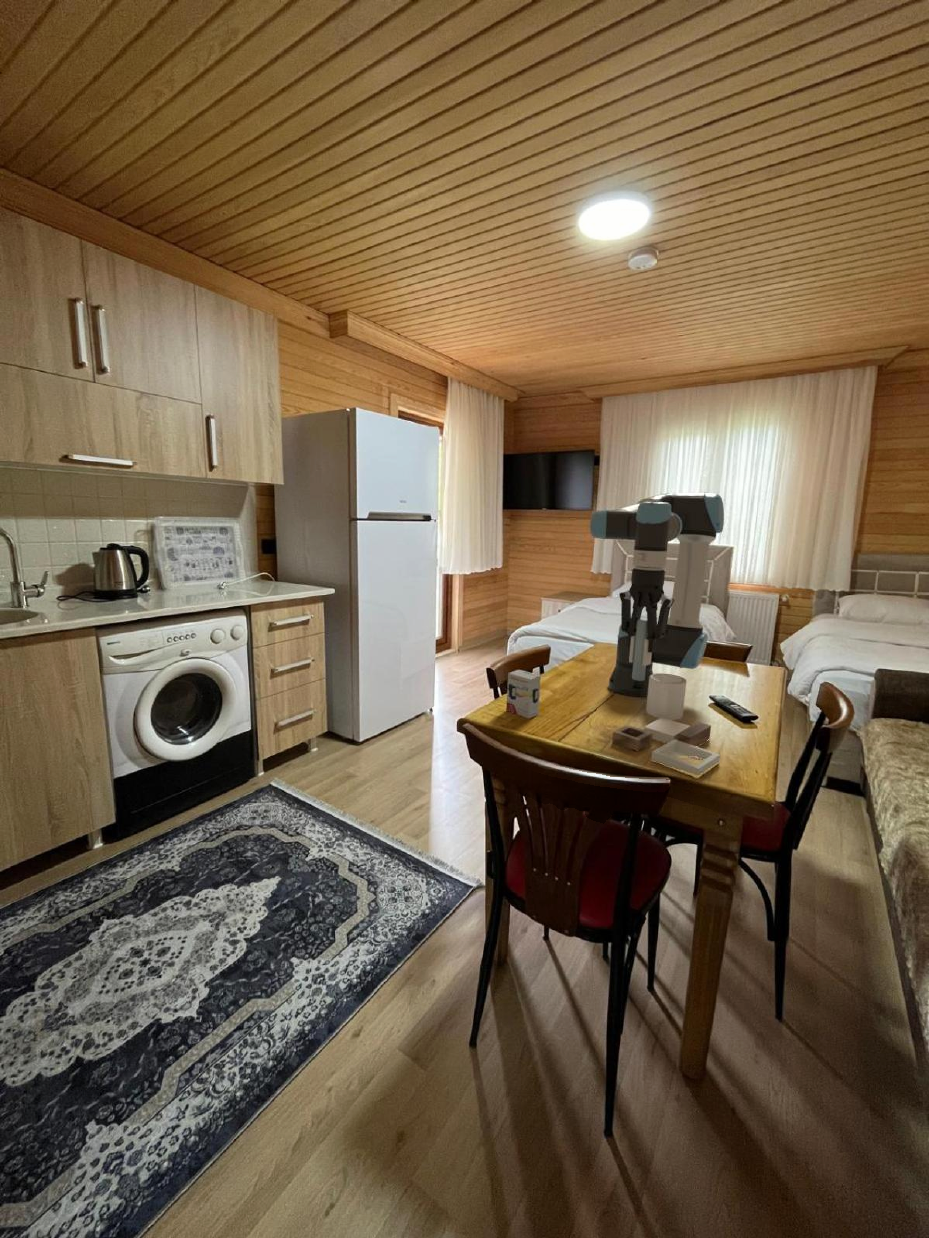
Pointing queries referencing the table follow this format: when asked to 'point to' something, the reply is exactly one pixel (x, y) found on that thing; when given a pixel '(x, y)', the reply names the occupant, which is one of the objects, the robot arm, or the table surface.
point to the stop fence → (695, 734)
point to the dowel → (639, 650)
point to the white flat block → (665, 729)
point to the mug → (666, 696)
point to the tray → (678, 748)
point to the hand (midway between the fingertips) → (639, 662)
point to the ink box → (523, 693)
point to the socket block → (632, 737)
